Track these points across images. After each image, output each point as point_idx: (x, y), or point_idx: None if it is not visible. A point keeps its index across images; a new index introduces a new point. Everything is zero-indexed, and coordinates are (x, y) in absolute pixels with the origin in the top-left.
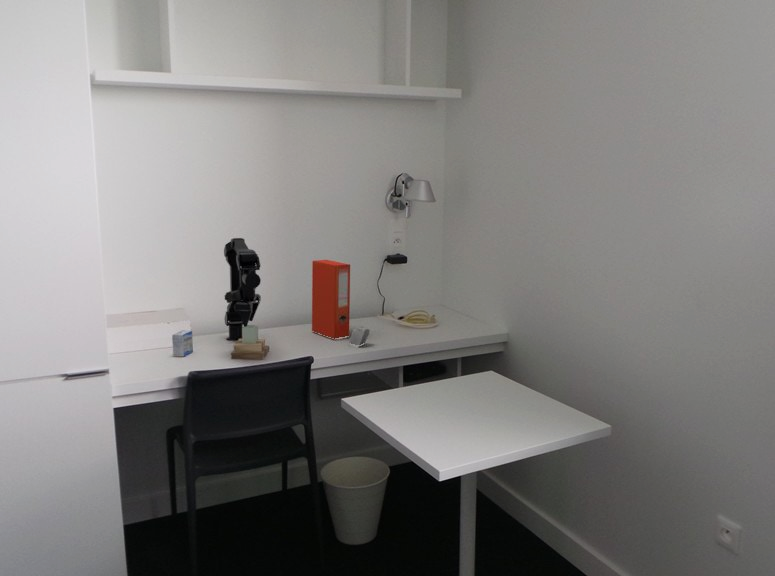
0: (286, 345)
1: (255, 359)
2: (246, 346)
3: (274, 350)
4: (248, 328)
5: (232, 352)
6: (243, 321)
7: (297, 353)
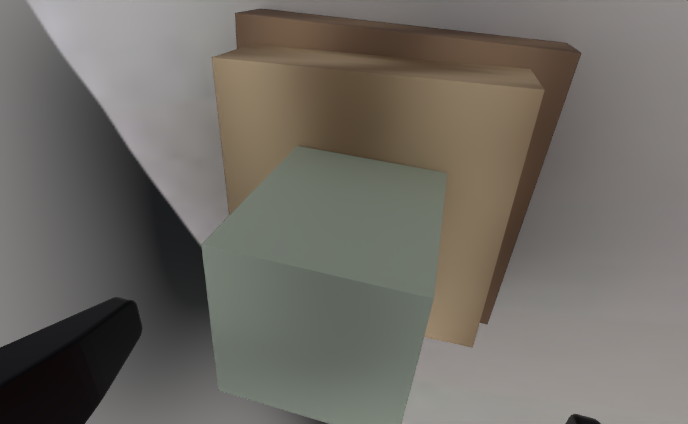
0: (652, 405)
1: None
2: (231, 185)
3: (511, 325)
4: (213, 321)
5: (258, 25)
6: (6, 364)
7: (415, 419)
